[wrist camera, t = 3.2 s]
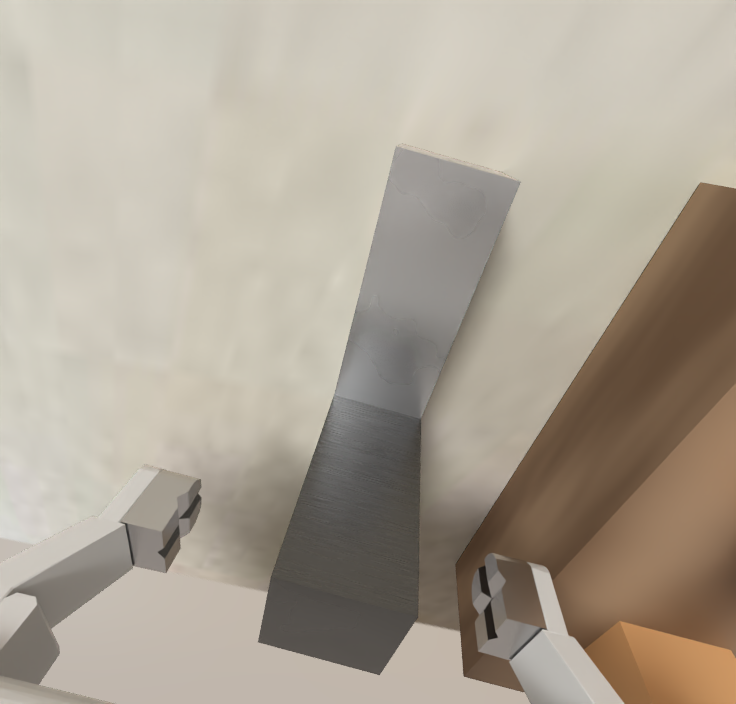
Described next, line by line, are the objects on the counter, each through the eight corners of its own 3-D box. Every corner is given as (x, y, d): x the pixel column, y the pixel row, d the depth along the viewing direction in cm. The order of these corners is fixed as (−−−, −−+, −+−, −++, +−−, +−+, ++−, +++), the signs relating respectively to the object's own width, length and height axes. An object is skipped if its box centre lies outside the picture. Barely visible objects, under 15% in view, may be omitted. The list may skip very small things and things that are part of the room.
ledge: (1059, 279, 11) (1490, 378, 6) (637, 612, 21) (693, 736, 17) (700, 182, 11) (890, 215, 6) (455, 564, 21) (463, 676, 17)
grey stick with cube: (498, 170, 11) (658, 251, 4) (361, 523, 21) (324, 758, 13) (402, 143, 11) (354, 165, 4) (309, 509, 20) (239, 735, 13)
